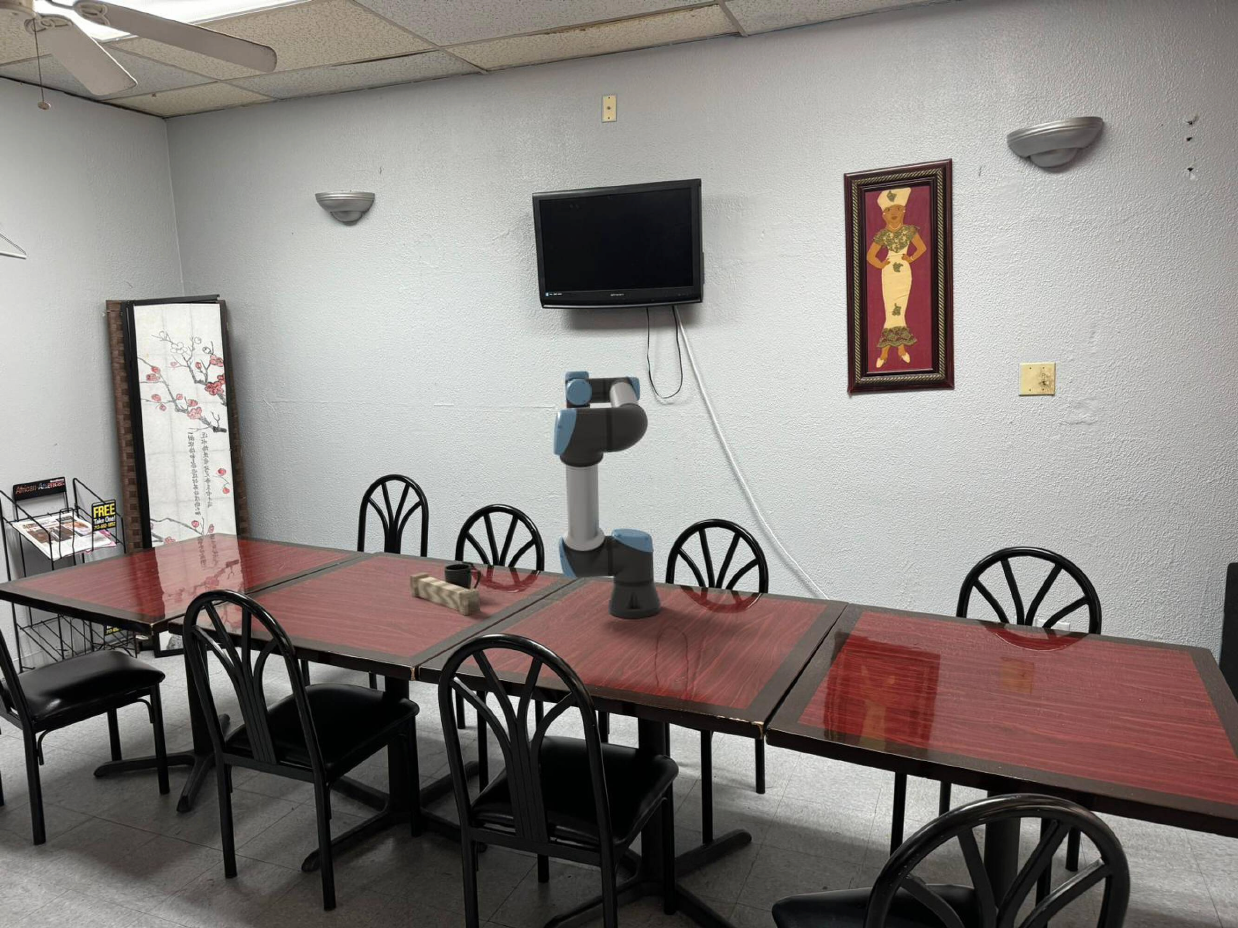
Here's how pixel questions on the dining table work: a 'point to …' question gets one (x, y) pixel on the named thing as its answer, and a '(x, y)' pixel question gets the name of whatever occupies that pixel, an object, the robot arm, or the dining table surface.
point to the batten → (445, 593)
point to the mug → (461, 575)
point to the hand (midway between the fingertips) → (581, 495)
